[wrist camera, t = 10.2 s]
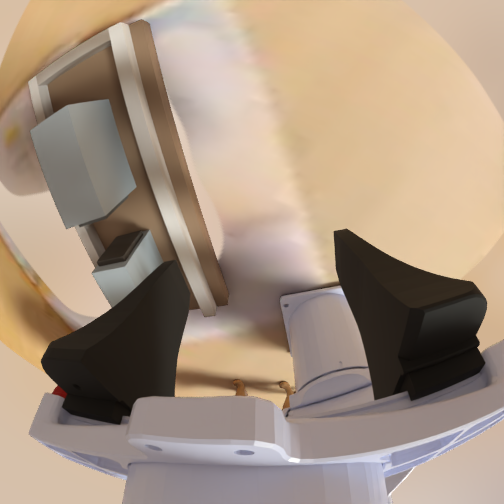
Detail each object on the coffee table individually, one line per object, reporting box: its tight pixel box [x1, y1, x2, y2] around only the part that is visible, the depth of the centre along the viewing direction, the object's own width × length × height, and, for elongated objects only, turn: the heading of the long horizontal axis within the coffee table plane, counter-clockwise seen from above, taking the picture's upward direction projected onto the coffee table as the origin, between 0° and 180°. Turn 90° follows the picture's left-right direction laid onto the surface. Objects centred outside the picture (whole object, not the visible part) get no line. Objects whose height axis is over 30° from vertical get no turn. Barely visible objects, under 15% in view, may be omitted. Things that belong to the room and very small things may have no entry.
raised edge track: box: [28, 19, 229, 317], centre depth 17 cm, size 24×11×6 cm, turn 12°
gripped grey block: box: [30, 99, 137, 229], centre depth 15 cm, size 4×7×5 cm, turn 13°
